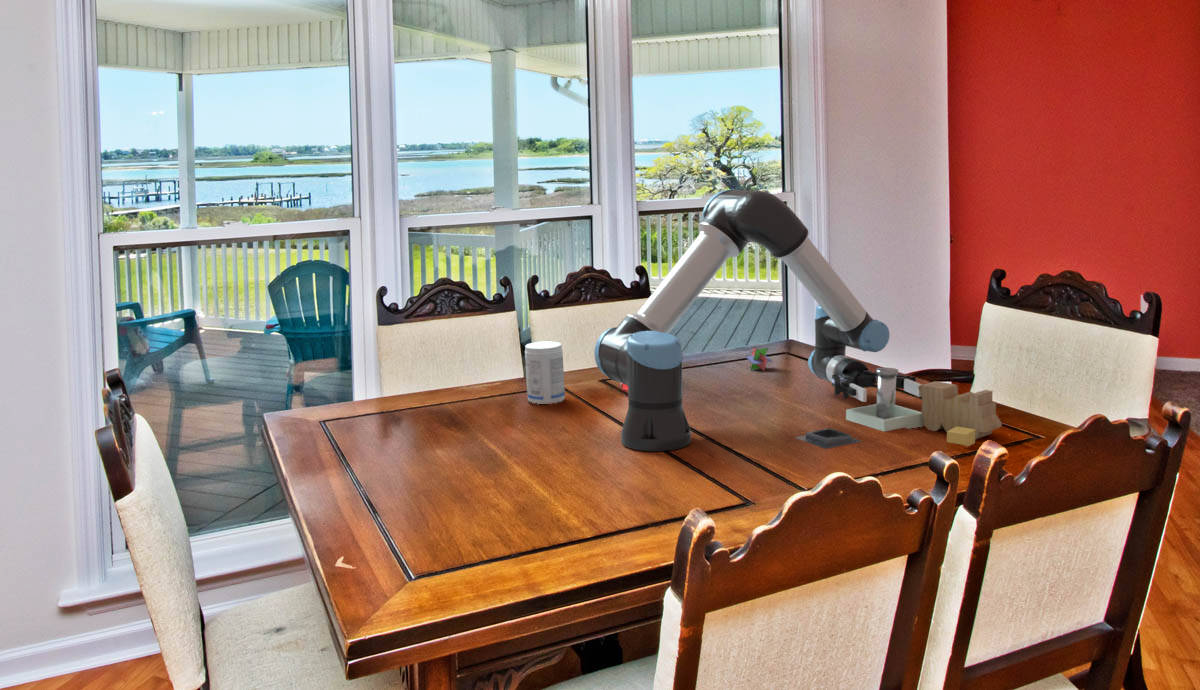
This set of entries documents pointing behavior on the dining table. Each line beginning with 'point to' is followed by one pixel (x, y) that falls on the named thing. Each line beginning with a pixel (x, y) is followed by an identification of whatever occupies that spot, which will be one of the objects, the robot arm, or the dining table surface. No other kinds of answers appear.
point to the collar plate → (828, 438)
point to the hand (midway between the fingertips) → (893, 393)
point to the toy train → (958, 409)
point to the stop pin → (886, 392)
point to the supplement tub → (544, 372)
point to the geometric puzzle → (758, 358)
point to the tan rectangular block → (961, 436)
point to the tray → (900, 420)
